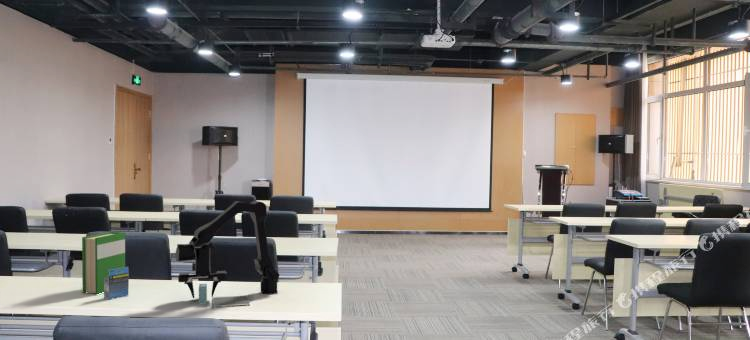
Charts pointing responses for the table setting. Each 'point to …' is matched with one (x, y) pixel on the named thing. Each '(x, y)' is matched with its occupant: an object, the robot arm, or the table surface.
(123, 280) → the label tape box
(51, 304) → the table surface
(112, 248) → the hardback book
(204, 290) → the block
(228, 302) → the mat
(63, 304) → the table surface
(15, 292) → the table surface
